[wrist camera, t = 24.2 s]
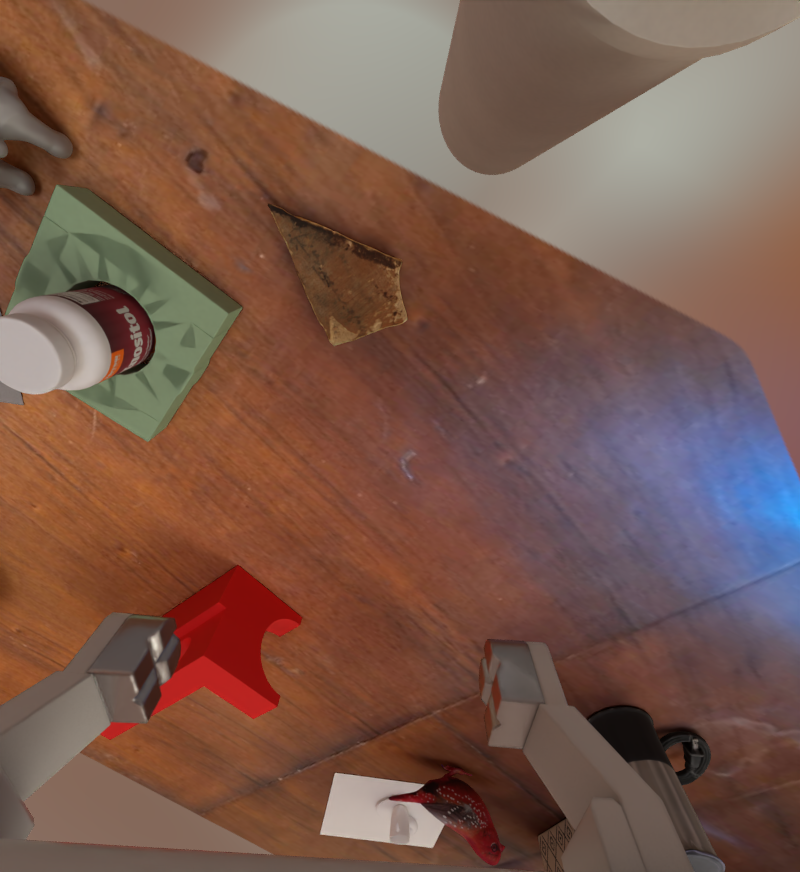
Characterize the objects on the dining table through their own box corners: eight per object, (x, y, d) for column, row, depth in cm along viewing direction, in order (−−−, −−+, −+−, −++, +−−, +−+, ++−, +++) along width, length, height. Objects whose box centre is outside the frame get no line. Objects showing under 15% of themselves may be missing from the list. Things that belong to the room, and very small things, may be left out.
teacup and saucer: (418, 824, 70) (418, 856, 66) (371, 818, 69) (369, 850, 66) (430, 797, 66) (431, 830, 63) (380, 791, 66) (379, 824, 62)
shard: (273, 204, 30) (265, 203, 29) (370, 163, 29) (368, 159, 28) (332, 344, 35) (328, 350, 33) (419, 314, 34) (419, 318, 32)
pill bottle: (171, 365, 36) (81, 415, 26) (98, 352, 36) (-22, 399, 26) (166, 290, 33) (63, 314, 23) (86, 275, 33) (-53, 294, 23)
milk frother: (579, 709, 56) (632, 860, 42) (704, 692, 54) (802, 844, 40) (587, 767, 62) (636, 914, 48) (701, 753, 60) (785, 903, 46)
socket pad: (85, 186, 30) (53, 181, 28) (244, 308, 34) (230, 315, 31) (22, 335, 35) (-10, 344, 32) (167, 428, 39) (149, 443, 36)
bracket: (194, 649, 36) (277, 706, 40) (238, 564, 46) (302, 617, 49) (77, 721, 42) (159, 767, 45) (137, 632, 51) (202, 676, 54)
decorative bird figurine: (489, 783, 64) (502, 873, 55) (385, 751, 61) (381, 841, 52) (499, 774, 63) (514, 865, 54) (394, 741, 60) (392, 831, 51)
